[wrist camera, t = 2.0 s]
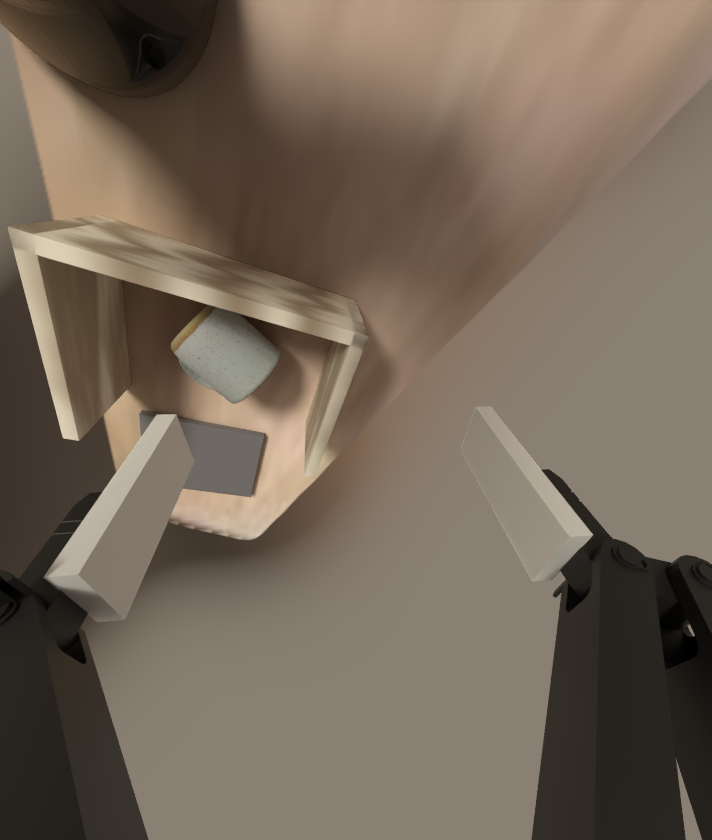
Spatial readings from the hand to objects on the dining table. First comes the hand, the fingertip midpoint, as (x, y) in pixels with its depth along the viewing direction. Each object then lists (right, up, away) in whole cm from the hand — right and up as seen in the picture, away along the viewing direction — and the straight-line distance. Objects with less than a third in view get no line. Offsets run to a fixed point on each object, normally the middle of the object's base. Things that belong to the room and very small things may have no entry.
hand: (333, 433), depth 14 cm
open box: (-13, +9, +20) cm, 25 cm away
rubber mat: (-21, -5, +30) cm, 37 cm away
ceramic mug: (-13, +9, +21) cm, 26 cm away
